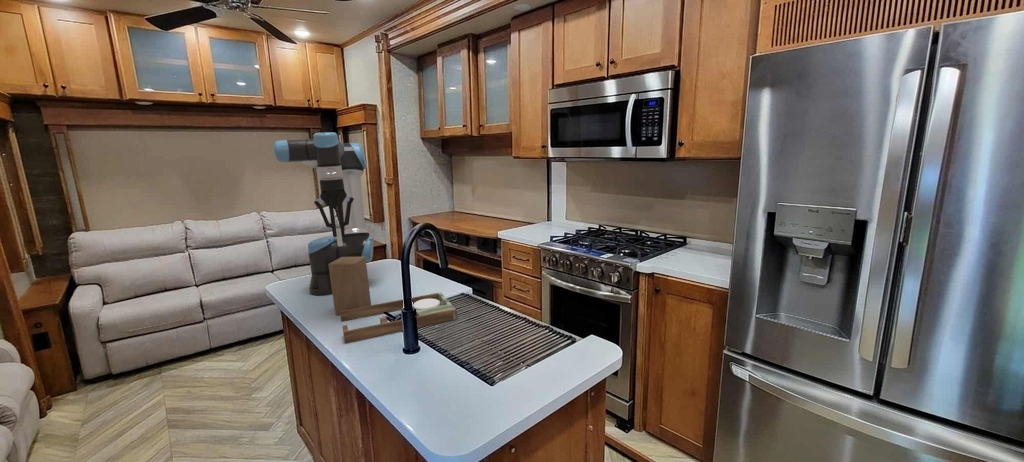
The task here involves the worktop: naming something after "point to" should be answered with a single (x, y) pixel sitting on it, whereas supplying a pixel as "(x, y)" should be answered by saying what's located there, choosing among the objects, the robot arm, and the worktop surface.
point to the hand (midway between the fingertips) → (340, 245)
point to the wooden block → (349, 283)
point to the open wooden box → (385, 327)
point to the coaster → (426, 304)
